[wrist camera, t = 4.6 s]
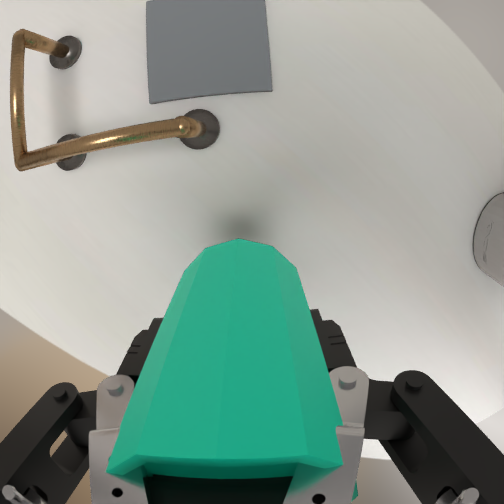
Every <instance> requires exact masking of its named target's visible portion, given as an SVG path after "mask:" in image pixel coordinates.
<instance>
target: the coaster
mask: <svg viewBox="0 0 504 504" xmlns="http://www.w3.org/2000/svg"><path fill="white" fill-rule="evenodd" d="M146 37H147V69H148V89H149V103H150V104H155V103H161V102H167V101H173V100H180V99H187V98H195V97H203V96H212V95H223V94H234V93H249V92H268V91H272V77H271V65H270V52H269V41H268V29H267V19H266V8H265V0H151V1H147V2H146Z"/></svg>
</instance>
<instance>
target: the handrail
mask: <svg viewBox="0 0 504 504" xmlns="http://www.w3.org/2000/svg"><path fill="white" fill-rule="evenodd" d="M25 48H29V49H32V50H36V51H39V52H42V53H46V54H49V55H50V63H51V65H52V66H53V67H55V68H58V69H66V68H69V67H70V66H72V65H73V64H74V63H75V62H76V61H77V59H78V58H79V56H80V53H81V42H80V41H79V40H78V39H77V38H75V37H73V36H65V37H62V38H61V39H59V40H58V41H54V40H52V39H49V38H47V37H44V36H41V35H39V34H36V33H33V32H31V31H28V30H25V29H20V30H19V31H17V32H15V34H14V35H13V38H12V50H11V67H10V113H11V131H12V143H13V153H14V162H15V166H16V168H17V169H18V170H19V171H25V170H29V169H32V168H36V167H40V166H44V165H48V164H52V163H57V165H58V166H59V167H60V168H61V169H63V170H66V171H69V170H73V169H76V168H78V167H79V166H81V165H82V163H83V162H84V160H85V157H86V153H88V152H93V151H97V150H102V149H107V148H112V147H117V146H122V145H128V144H133V143H139V142H145V141H151V140H158V139H165V138H172V137H178V138H180V139H181V141H182V142H183V143H184V144H185V145H186V146H187V147H189V148H192V149H203V148H206V147H209V146H210V145H212V144H213V143H214V142H215V141H216V139H217V137H218V135H219V130H220V127H219V122H218V120H217V118H216V117H215V116H214V115H213V114H212V113H210V112H209V111H207V110H203V109H196V110H192V111H190V112H188V113H186V114H185V115H184V116H179V117H176V118H175V119H169V120H162V121H156V122H150V123H144V124H139V125H133V126H128V127H123V128H118V129H113V130H109V131H104V132H100V133H95V134H91V135H87V136H83V137H80V136H78V135H76V134H69V135H65V136H63V137H61V138H60V139H59V140H58V142H57V144H53V145H50V146H46V147H43V148H40V149H36V150H33V151H29V152H27V144H26V132H25V117H24V53H25Z"/></svg>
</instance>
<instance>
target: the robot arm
mask: <svg viewBox="0 0 504 504" xmlns="http://www.w3.org/2000/svg"><path fill="white" fill-rule="evenodd" d="M474 256H475V260H476V263H477V265H478V267H479V268H480V269H481V270H482V271H483V272H485V273H486V274H487V275H489V276H490V277H491V278H493V279H494V280H495V281H497V282H498V283H499V284H501V285H502V286H503V287H504V193H502V194H499V195H497V196H496V197H494V198H493V199H492V200H491V201H490V202H489V203H488V204H487V206H486V207H485V209H484V210H483V212H482V214H481V216H480V218H479V221H478V224H477V227H476V231H475V236H474ZM310 313H311V316H312V319H313V322H314V326H315V329H316V332H317V336H318V339H319V342H320V345H321V349H322V352H323V355H324V359H325V362H326V366H327V369H328V372H329V376H330V379H331V383H332V386H333V390H334V393H335V397H336V400H337V404H338V407H339V411H340V415H341V418H342V422H343V426H342V425H338V426H337V427H336V435H337V439H338V444H339V448H340V452H341V456H342V460H343V465H340V466H336V467H331V468H326V469H324V468H319V467H315V466H311V465H307V464H303V463H300V462H298V465H297V467H296V470H295V473H294V476H286V477H273V478H253V479H209V478H189V477H176V476H166V475H157V474H153V476H152V477H148V474H147V469H146V468H145V467H144V465H141V466H139V467H137V468H135V469H134V470H132V471H130V472H128V473H126V474H124V475H118V474H112V473H107V472H106V469H107V466H108V463H109V458H110V456H111V454H112V451H113V448H114V446H115V443H116V440H117V437H118V434H119V431H120V425H121V422H122V420H123V417H124V414H125V412H126V409H127V406H128V404H129V401H130V399H131V396H132V393H133V391H134V388H135V386H136V383H137V381H138V378H139V376H140V373H141V371H142V368H143V366H144V363H145V361H146V358H147V356H148V354H149V351H150V349H151V346H152V344H153V342H154V339H155V337H156V334H157V332H158V330H159V327H160V325H161V323H162V320H163V318H154V319H153V321H152V323H151V325H150V327H149V329H148V330H142V331H141V332H140V333H139V334H138V335H137V336H135V338H134V340H133V341H132V343H131V347H129V349H128V351H127V354H126V356H125V358H124V360H123V362H122V364H121V366H120V368H119V370H118V372H117V374H116V375H113V376H110V377H108V378H106V379H104V380H103V381H102V382H101V383H100V384H99V386H98V388H97V390H95V391H88V392H81V393H79V392H78V390H77V389H76V387H75V386H74V385H73V384H71V383H66V382H63V383H59V384H56V385H54V386H52V387H51V388H50V389H49V390H48V391H47V392H46V393H45V394H44V395H43V396H42V397H41V398H40V400H39V401H38V402H37V403H36V404H35V405H34V406H33V407H32V408H31V409H30V410H29V412H28V413H27V414H26V415H25V416H24V417H23V418H22V419H21V420H20V422H19V423H18V424H17V425H16V426H15V427H14V428H13V430H12V431H11V432H10V433H9V434H8V435H7V436H6V437H5V439H4V440H3V441H2V442H1V443H0V504H65V503H66V502H67V500H68V499H69V497H70V496H71V494H72V493H73V491H74V490H75V488H76V487H77V485H78V484H79V482H80V480H81V479H82V478H83V476H84V475H85V473H86V472H87V470H88V469H90V487H91V499H92V504H351V501H352V496H353V492H354V487H355V483H356V478H357V473H358V467H359V462H360V457H361V451H362V445H363V439H378V440H379V442H380V443H381V444H382V446H383V447H384V449H385V450H386V452H387V453H388V455H389V456H390V458H391V459H392V461H393V462H394V463H395V465H396V466H397V468H398V469H399V471H400V472H401V474H402V475H403V477H404V478H405V479H406V481H407V482H408V484H409V485H410V487H411V488H412V490H413V491H414V493H415V494H416V496H417V497H418V499H419V500H420V501H421V503H422V504H504V455H503V454H502V453H501V451H500V450H499V449H498V448H497V447H496V446H495V445H494V444H493V443H492V442H491V441H490V439H488V437H487V436H486V435H485V434H484V433H483V432H482V431H481V430H480V429H479V428H478V427H477V426H476V424H475V423H474V422H473V421H472V420H471V419H470V418H469V417H468V416H467V415H466V414H465V413H464V412H463V411H462V410H461V409H460V408H459V407H458V406H457V405H456V404H455V402H454V401H453V400H452V399H451V398H450V397H449V396H448V395H447V394H446V393H445V392H444V391H443V390H442V389H441V388H440V387H439V386H438V385H437V384H436V383H435V382H434V381H433V380H432V379H431V378H430V377H429V376H428V375H426V374H425V373H423V372H420V371H415V370H409V371H404V372H402V373H400V374H399V375H397V376H396V378H395V380H394V382H388V381H376V380H372V379H369V378H368V376H367V374H366V373H365V372H364V371H362V370H361V369H359V368H357V366H356V364H355V362H354V359H353V357H352V354H351V352H350V349H349V347H348V344H347V343H346V340H345V337H344V336H343V333H342V330H341V328H340V326H339V325H337V324H336V323H335V322H334V321H333V320H325V321H322V318H321V316H320V313H319V310H318V309H312V310H310ZM63 431H65V432H66V433H67V435H68V436H67V437H66V438H65V440H64V441H63V442H62V443H61V445H60V446H59V447H58V449H57V450H56V452H55V453H54V454H53V455H52V457H50V448H51V446H52V444H53V443H54V442H55V441H56V439H57V438H58V437H59V436H60V434H61V433H62V432H63Z"/></svg>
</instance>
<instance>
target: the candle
mask: <svg viewBox="0 0 504 504" xmlns="http://www.w3.org/2000/svg"><path fill="white" fill-rule="evenodd" d="M338 425H342V426H343V422H342V418H341V415H340V411H339V407H338V404H337V400H336V397H335V393H334V390H333V386H332V383H331V379H330V376H329V372H328V369H327V366H326V362H325V359H324V355H323V352H322V349H321V345H320V342H319V339H318V336H317V332H316V329H315V326H314V322H313V319H312V316H311V313H310V310H309V306H308V303H307V300H306V297H305V294H304V291H303V288H302V284H301V281H300V278H299V275H298V272H297V269H296V267H295V266H294V265H293V264H292V263H290V262H289V261H288V260H287V259H286V258H285V257H284V256H283V255H282V254H281V253H279V252H278V251H277V250H276V249H275V248H274V247H273V246H270V245H266V244H261V243H257V242H252V241H248V240H243V239H239V238H238V239H235V240H231V241H228V242H224V243H221V244H218V245H214V246H211V247H207V248H205V249H204V250H203V251H202V252H201V254H200V255H199V256H198V257H197V258H196V259H195V260H194V261H193V262H192V263H191V264H190V265H189V267H188V268H187V269H186V270H185V271H184V273H183V275H182V278H181V280H180V282H179V284H178V286H177V289H176V291H175V293H174V295H173V298H172V300H171V302H170V304H169V307H168V309H167V311H166V314H165V316H164V318H163V320H162V323H161V325H160V327H159V330H158V332H157V334H156V337H155V339H154V342H153V344H152V346H151V349H150V351H149V354H148V356H147V358H146V361H145V363H144V366H143V368H142V371H141V373H140V376H139V378H138V381H137V383H136V386H135V388H134V391H133V393H132V396H131V399H130V401H129V404H128V406H127V409H126V412H125V414H124V417H123V420H122V422H121V425H120V431H119V434H118V437H117V440H116V443H115V446H114V448H113V451H112V454H111V456H110V458H109V463H108V466H107V469H106V472H107V473H112V474H118V475H124V474H126V473H128V472H130V471H132V470H134V469H135V468H137V467H139V466H141V465H144V467H145V468H146V469H147V474H148V477H152V476H153V474H157V475H166V476H176V477H189V478H209V479H253V478H273V477H286V476H294V473H295V470H296V467H297V465H298V462H300V463H303V464H307V465H311V466H315V467H319V468H324V469H326V468H331V467H336V466H340V465H343V460H342V456H341V452H340V448H339V444H338V439H337V435H336V427H337V426H338ZM357 496H358V491H357V483H355V487H354V492H353V496H352V501H353V500H354V499H355V498H356V497H357ZM352 501H351V502H352Z"/></svg>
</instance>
